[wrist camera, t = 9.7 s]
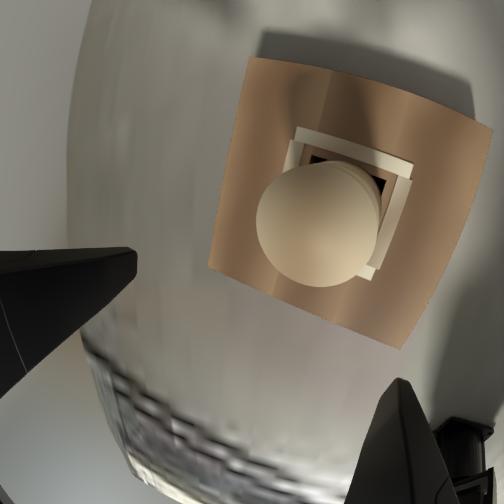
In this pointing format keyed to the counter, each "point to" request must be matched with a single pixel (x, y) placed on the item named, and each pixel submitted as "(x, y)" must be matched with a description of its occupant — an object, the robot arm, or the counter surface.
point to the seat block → (375, 163)
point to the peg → (320, 222)
